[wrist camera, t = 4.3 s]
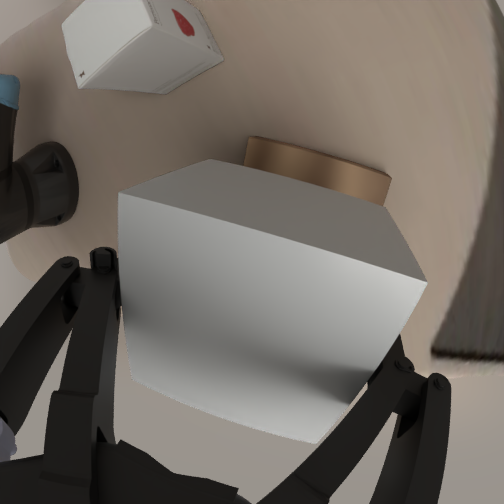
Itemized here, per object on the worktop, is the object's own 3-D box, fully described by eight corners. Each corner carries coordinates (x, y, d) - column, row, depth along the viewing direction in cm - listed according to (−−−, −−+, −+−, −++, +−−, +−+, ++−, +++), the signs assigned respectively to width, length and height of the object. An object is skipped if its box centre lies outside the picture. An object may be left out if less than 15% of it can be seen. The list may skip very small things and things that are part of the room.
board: (227, 284, 40) (204, 318, 33) (256, 136, 31) (232, 139, 24) (332, 317, 38) (328, 358, 31) (386, 173, 28) (402, 188, 21)
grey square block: (192, 300, 20) (132, 379, 13) (210, 158, 16) (118, 192, 9) (327, 343, 19) (315, 444, 12) (385, 207, 14) (428, 282, 7)
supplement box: (227, 61, 28) (153, 27, 15) (165, 96, 31) (76, 93, 18) (200, 7, 25) (125, -38, 12) (143, 43, 29) (58, 25, 16)
